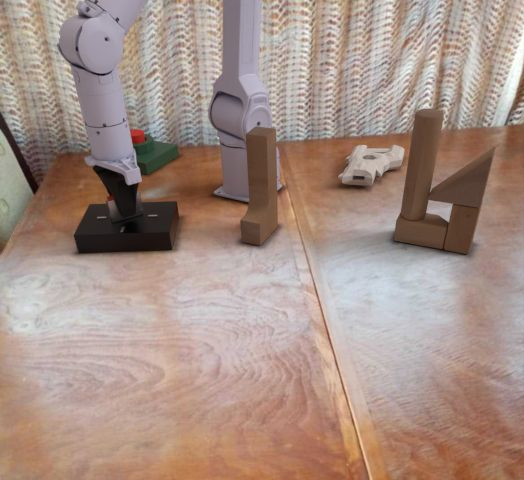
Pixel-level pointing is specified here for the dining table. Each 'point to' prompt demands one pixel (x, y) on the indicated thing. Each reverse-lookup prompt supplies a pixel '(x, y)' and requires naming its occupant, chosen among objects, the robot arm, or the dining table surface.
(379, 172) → the gun
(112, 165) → the robot arm
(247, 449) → the dining table surface
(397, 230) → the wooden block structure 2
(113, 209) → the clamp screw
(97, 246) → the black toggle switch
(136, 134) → the release button
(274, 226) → the wooden block
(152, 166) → the box
